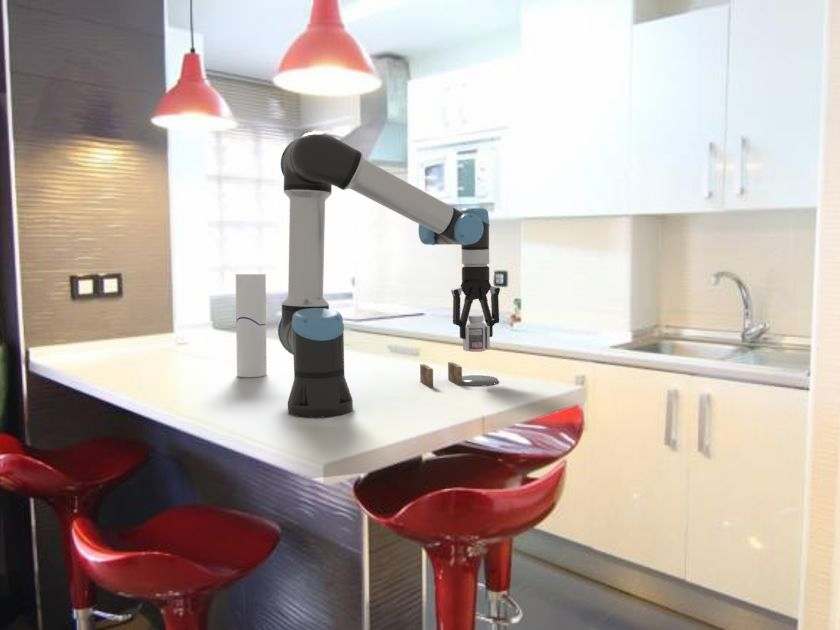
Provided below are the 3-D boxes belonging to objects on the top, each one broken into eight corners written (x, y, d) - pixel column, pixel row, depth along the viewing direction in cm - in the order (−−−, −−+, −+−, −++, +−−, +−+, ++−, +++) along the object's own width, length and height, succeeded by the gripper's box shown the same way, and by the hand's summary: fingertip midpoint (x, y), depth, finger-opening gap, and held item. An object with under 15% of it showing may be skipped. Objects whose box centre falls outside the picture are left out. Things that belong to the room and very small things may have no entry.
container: (257, 377, 203) (256, 274, 201) (231, 376, 205) (229, 273, 203) (271, 373, 211) (270, 273, 209) (246, 371, 213) (245, 273, 211)
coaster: (504, 384, 190) (504, 382, 190) (463, 387, 187) (463, 385, 187) (488, 376, 202) (488, 374, 202) (448, 379, 198) (448, 377, 198)
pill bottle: (473, 348, 197) (472, 314, 196) (489, 349, 194) (489, 314, 193) (462, 351, 193) (462, 316, 192) (479, 352, 190) (479, 317, 189)
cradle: (462, 385, 190) (461, 366, 189) (428, 387, 187) (428, 369, 187) (452, 379, 198) (452, 362, 197) (420, 381, 195) (420, 364, 194)
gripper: (501, 264, 197) (501, 345, 199) (439, 266, 192) (440, 349, 194) (512, 264, 190) (512, 349, 192) (447, 267, 185) (449, 353, 187)
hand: (476, 349), depth 193 cm, fingers closed on pill bottle, 5 cm apart
